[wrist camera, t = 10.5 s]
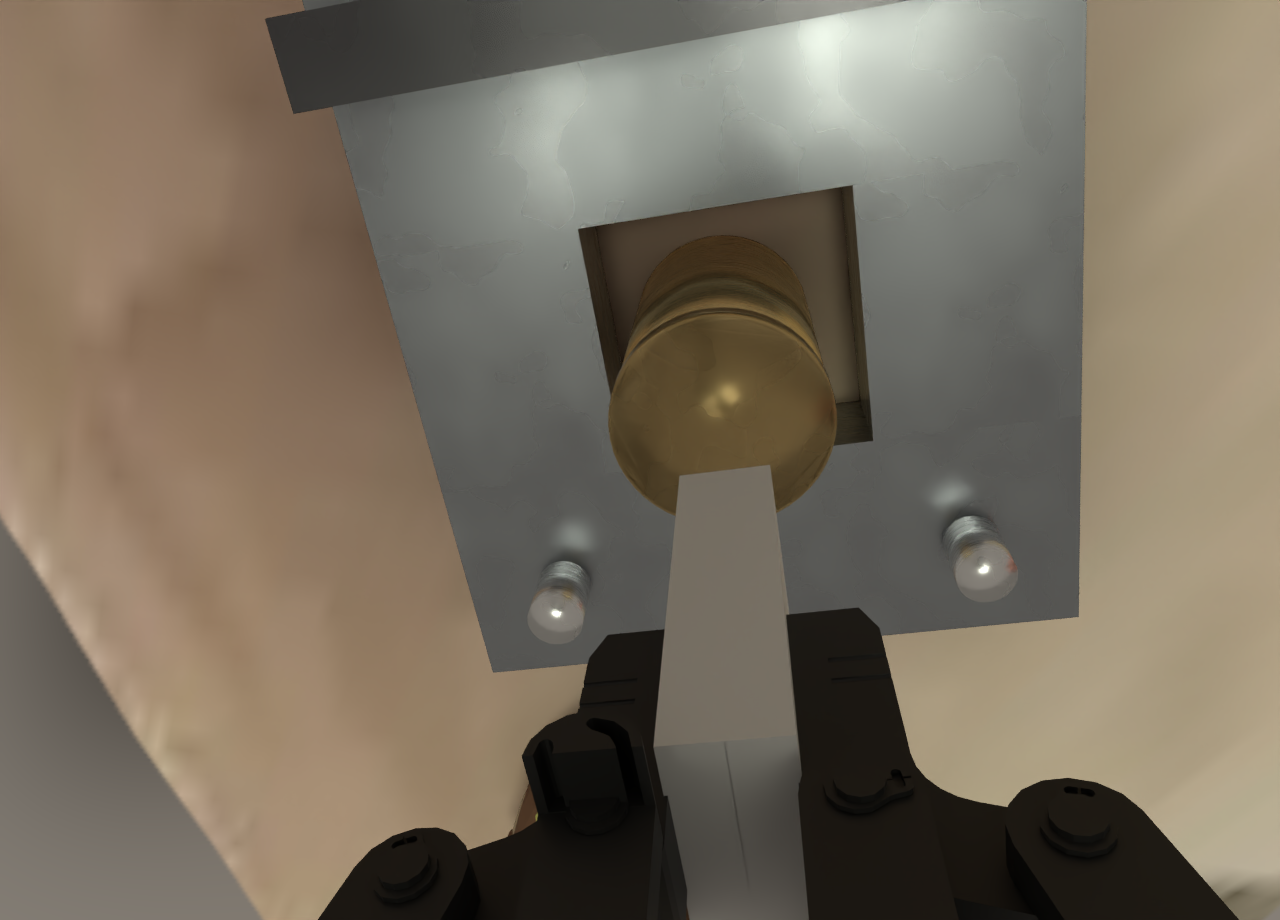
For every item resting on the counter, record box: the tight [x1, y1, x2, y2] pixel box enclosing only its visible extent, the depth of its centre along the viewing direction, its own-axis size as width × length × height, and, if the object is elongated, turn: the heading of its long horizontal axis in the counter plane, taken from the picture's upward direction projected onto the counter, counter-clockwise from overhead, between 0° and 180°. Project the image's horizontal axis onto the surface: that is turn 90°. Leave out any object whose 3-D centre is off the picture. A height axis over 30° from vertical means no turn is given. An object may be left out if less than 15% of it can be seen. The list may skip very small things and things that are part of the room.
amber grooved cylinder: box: [608, 235, 837, 516], centre depth 26 cm, size 5×5×8 cm
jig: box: [265, 0, 1087, 672], centre depth 27 cm, size 20×18×5 cm
